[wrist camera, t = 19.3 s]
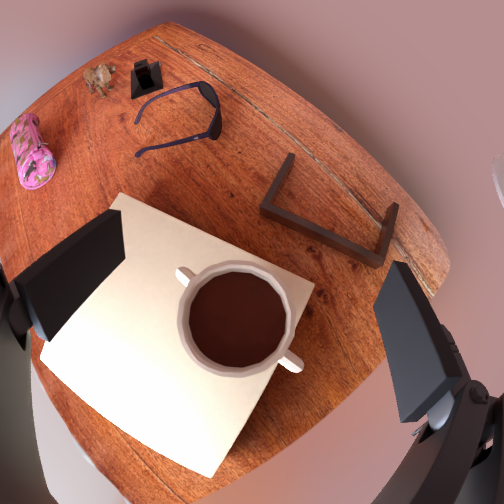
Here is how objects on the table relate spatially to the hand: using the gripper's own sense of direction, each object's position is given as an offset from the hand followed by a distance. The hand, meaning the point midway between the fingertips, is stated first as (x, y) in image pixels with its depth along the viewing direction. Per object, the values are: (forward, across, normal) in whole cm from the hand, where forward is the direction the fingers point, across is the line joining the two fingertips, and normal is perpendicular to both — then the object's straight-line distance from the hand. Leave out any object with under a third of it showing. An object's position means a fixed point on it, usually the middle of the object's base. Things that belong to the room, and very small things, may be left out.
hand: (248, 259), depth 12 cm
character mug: (+10, 0, -14) cm, 17 cm away
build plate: (+45, -32, +13) cm, 57 cm away
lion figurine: (+44, -43, +11) cm, 62 cm away
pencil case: (+30, -51, -3) cm, 59 cm away
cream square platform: (+12, -10, -20) cm, 26 cm away
